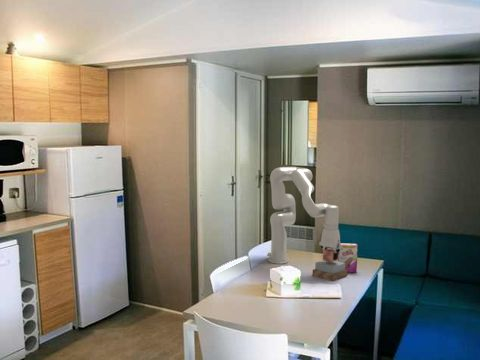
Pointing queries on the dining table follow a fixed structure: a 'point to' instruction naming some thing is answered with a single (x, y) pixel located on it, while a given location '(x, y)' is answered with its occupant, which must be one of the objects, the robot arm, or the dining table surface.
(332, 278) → the walnut base slab
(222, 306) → the dining table surface
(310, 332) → the dining table surface
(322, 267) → the grey top slab
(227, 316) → the dining table surface
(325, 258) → the brick-red cube
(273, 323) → the dining table surface
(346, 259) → the candy bar box
